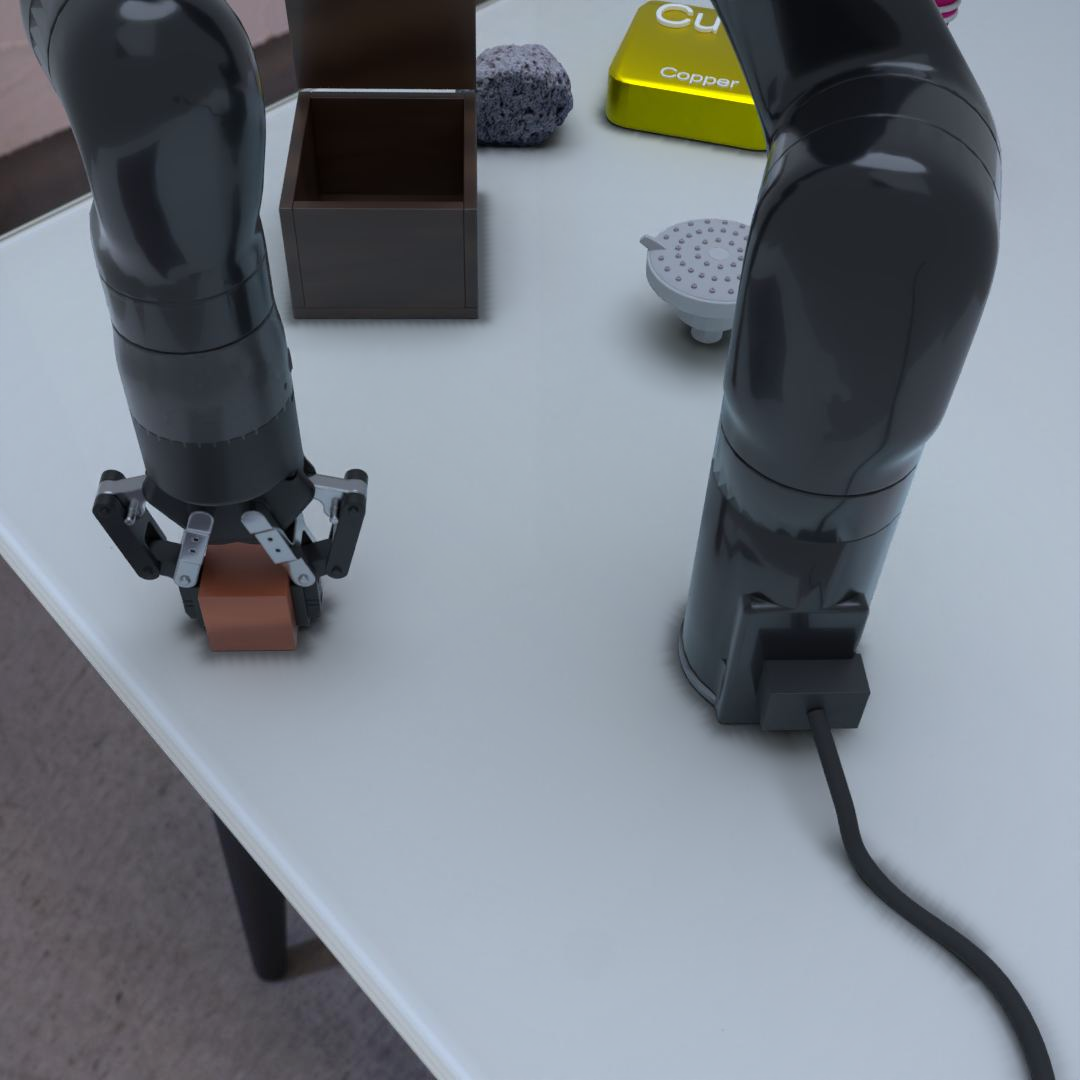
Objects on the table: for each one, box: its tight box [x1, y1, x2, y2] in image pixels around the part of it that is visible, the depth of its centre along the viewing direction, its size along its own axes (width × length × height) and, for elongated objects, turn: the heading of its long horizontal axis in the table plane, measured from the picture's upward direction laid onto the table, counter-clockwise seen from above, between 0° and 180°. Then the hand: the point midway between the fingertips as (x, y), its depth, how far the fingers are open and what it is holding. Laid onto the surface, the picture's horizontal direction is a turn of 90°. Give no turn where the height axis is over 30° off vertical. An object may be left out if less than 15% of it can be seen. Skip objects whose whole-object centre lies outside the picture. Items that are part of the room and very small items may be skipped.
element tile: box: [605, 0, 767, 151], centre depth 111 cm, size 15×15×5 cm
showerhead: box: [639, 218, 750, 344], centre depth 89 cm, size 9×7×10 cm
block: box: [198, 542, 299, 652], centre depth 72 cm, size 5×5×5 cm
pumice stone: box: [454, 43, 574, 148], centre depth 106 cm, size 10×8×10 cm
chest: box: [278, 90, 479, 319], centre depth 93 cm, size 15×13×9 cm
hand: (257, 613), depth 73 cm, fingers closed on block, 4 cm apart
